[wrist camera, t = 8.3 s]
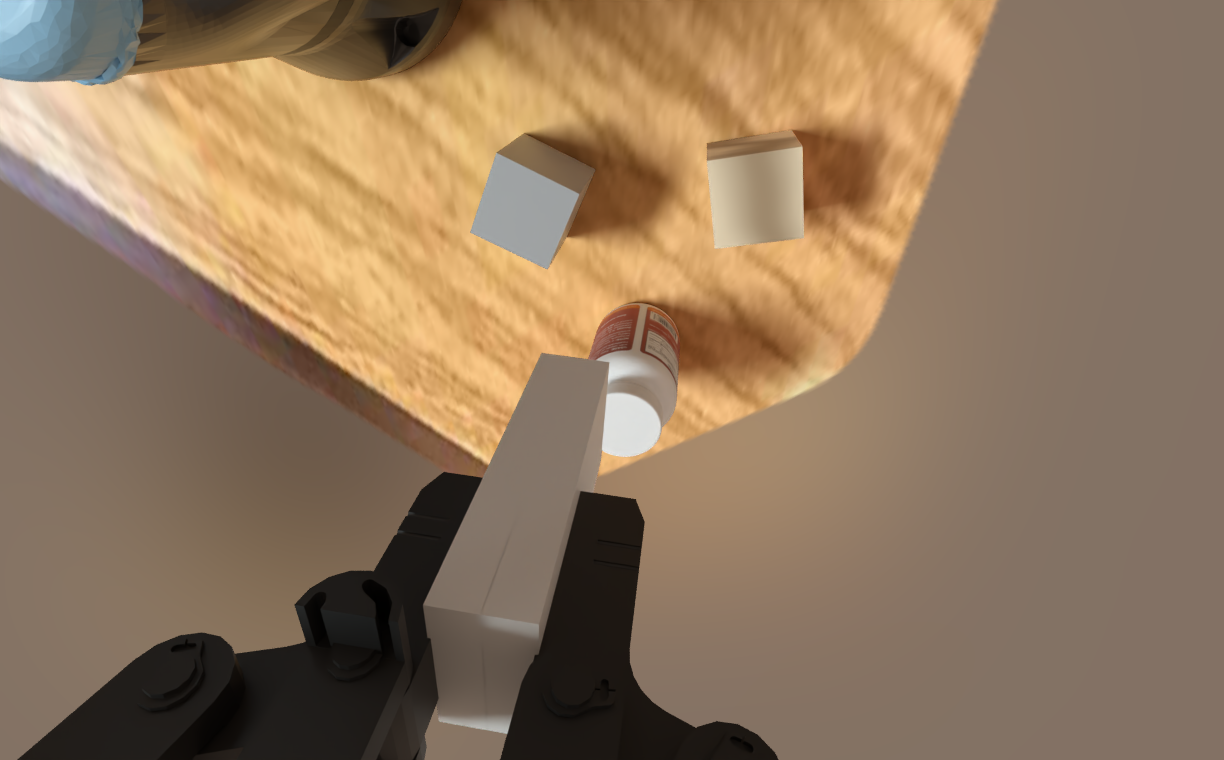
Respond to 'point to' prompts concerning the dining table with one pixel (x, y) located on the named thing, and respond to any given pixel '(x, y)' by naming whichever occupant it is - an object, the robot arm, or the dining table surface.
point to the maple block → (756, 189)
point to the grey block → (531, 199)
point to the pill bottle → (637, 376)
